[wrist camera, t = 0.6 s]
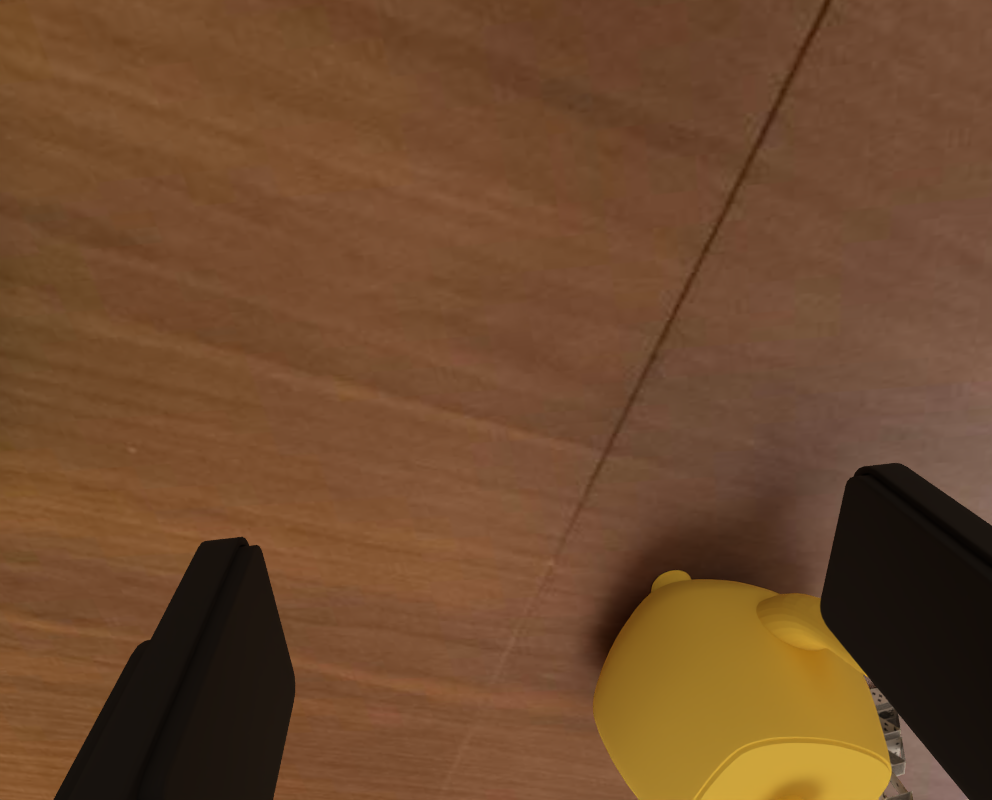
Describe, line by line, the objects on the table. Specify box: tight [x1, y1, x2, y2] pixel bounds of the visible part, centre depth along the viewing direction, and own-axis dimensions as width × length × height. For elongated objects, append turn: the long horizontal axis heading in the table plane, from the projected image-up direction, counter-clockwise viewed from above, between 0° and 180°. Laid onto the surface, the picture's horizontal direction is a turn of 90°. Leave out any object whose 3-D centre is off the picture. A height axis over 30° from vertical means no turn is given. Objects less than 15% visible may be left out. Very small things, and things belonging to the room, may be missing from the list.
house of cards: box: [870, 688, 913, 800], centre depth 41 cm, size 9×9×8 cm
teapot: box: [593, 570, 892, 800], centre depth 33 cm, size 14×20×13 cm
